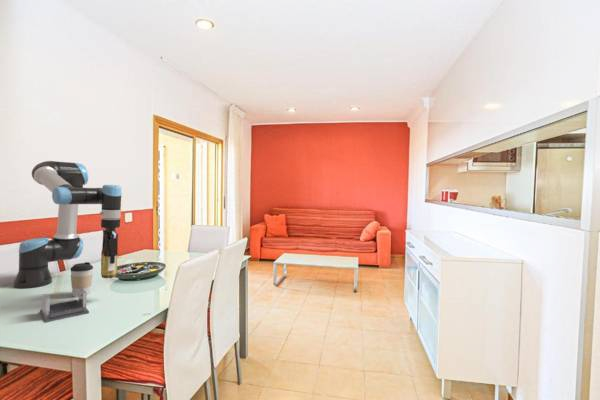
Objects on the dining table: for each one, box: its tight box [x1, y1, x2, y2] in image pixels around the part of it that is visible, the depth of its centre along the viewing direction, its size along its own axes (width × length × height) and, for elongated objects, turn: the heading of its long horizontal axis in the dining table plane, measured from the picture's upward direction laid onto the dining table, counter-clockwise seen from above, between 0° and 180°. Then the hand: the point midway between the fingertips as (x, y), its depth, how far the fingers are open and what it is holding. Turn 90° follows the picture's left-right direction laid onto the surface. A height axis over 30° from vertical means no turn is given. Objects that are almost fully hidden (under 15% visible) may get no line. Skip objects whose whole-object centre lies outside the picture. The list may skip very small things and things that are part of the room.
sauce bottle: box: [100, 234, 118, 279], centre depth 143 cm, size 7×6×20 cm
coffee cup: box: [70, 262, 94, 298], centre depth 150 cm, size 9×9×15 cm
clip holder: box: [39, 288, 90, 323], centre depth 129 cm, size 14×14×8 cm
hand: (109, 268), depth 144 cm, fingers closed on sauce bottle, 6 cm apart
